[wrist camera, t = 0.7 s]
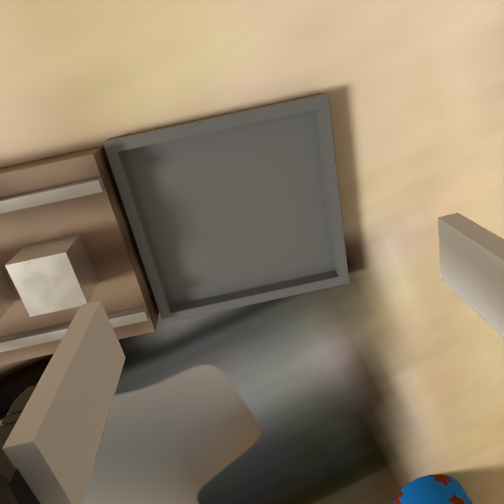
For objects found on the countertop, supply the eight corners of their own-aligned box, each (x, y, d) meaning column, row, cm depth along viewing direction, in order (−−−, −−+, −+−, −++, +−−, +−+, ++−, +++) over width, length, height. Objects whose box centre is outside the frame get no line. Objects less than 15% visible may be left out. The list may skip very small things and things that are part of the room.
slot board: (-111, 192, 39) (-154, 208, 34) (104, 145, 39) (90, 156, 34) (-21, 349, 46) (-47, 380, 41) (159, 310, 46) (153, 337, 41)
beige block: (24, 246, 38) (4, 265, 34) (79, 234, 38) (65, 252, 34) (46, 294, 40) (30, 317, 36) (98, 282, 40) (87, 304, 36)
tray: (107, 139, 38) (102, 142, 37) (322, 93, 39) (328, 94, 37) (165, 313, 46) (163, 323, 44) (343, 274, 46) (349, 283, 45)
